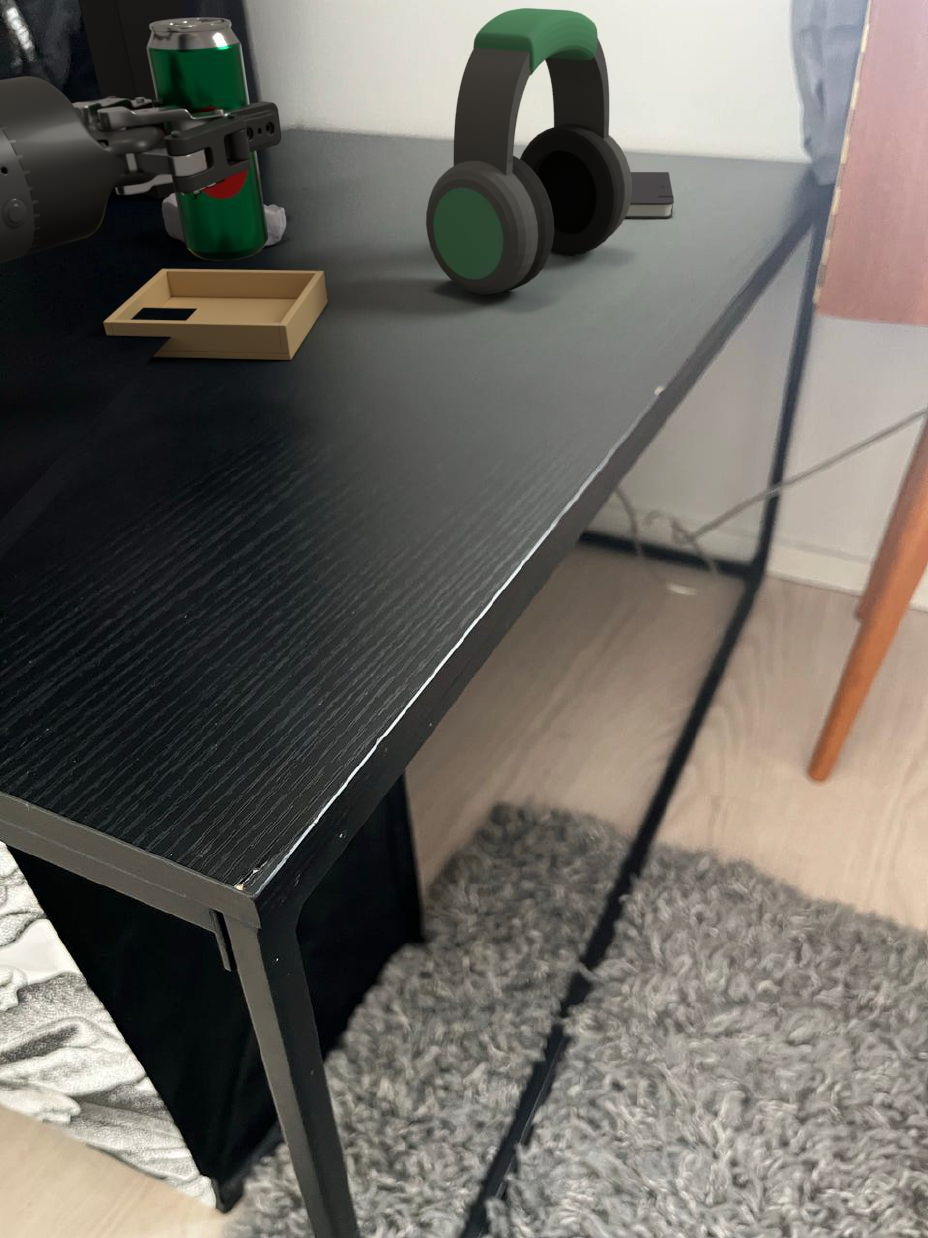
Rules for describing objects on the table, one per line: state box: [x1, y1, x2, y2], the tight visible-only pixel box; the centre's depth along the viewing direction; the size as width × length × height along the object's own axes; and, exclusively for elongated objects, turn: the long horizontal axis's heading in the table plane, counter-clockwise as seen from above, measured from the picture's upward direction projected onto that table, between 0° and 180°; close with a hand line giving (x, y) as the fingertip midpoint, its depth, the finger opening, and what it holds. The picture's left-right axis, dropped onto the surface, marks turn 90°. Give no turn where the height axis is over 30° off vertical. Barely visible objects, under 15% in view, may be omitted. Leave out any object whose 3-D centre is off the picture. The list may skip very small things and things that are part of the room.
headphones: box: [425, 7, 632, 295], centre depth 79 cm, size 19×11×20 cm, turn 143°
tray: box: [102, 268, 329, 361], centre depth 76 cm, size 14×12×3 cm
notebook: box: [624, 171, 675, 219], centre depth 102 cm, size 13×2×21 cm
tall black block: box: [77, 0, 185, 200], centre depth 103 cm, size 8×8×28 cm
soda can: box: [147, 17, 268, 262], centre depth 54 cm, size 5×5×12 cm
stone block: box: [161, 193, 287, 248], centre depth 95 cm, size 12×5×10 cm
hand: (240, 116), depth 55 cm, fingers closed on soda can, 5 cm apart
